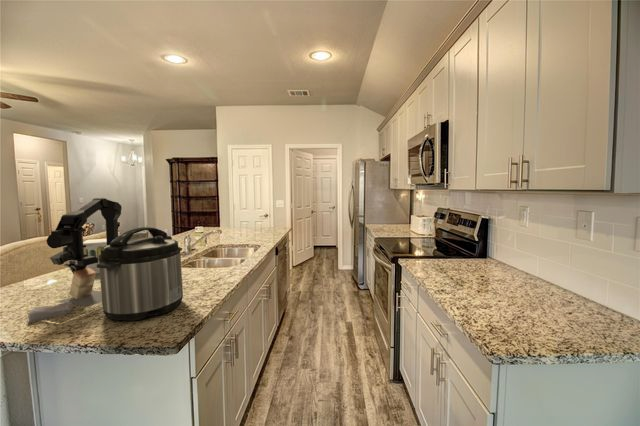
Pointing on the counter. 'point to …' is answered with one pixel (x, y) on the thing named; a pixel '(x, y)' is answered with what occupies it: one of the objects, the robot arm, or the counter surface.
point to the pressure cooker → (140, 275)
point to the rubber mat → (85, 299)
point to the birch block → (82, 283)
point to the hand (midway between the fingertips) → (78, 279)
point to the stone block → (49, 311)
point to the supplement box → (94, 251)
